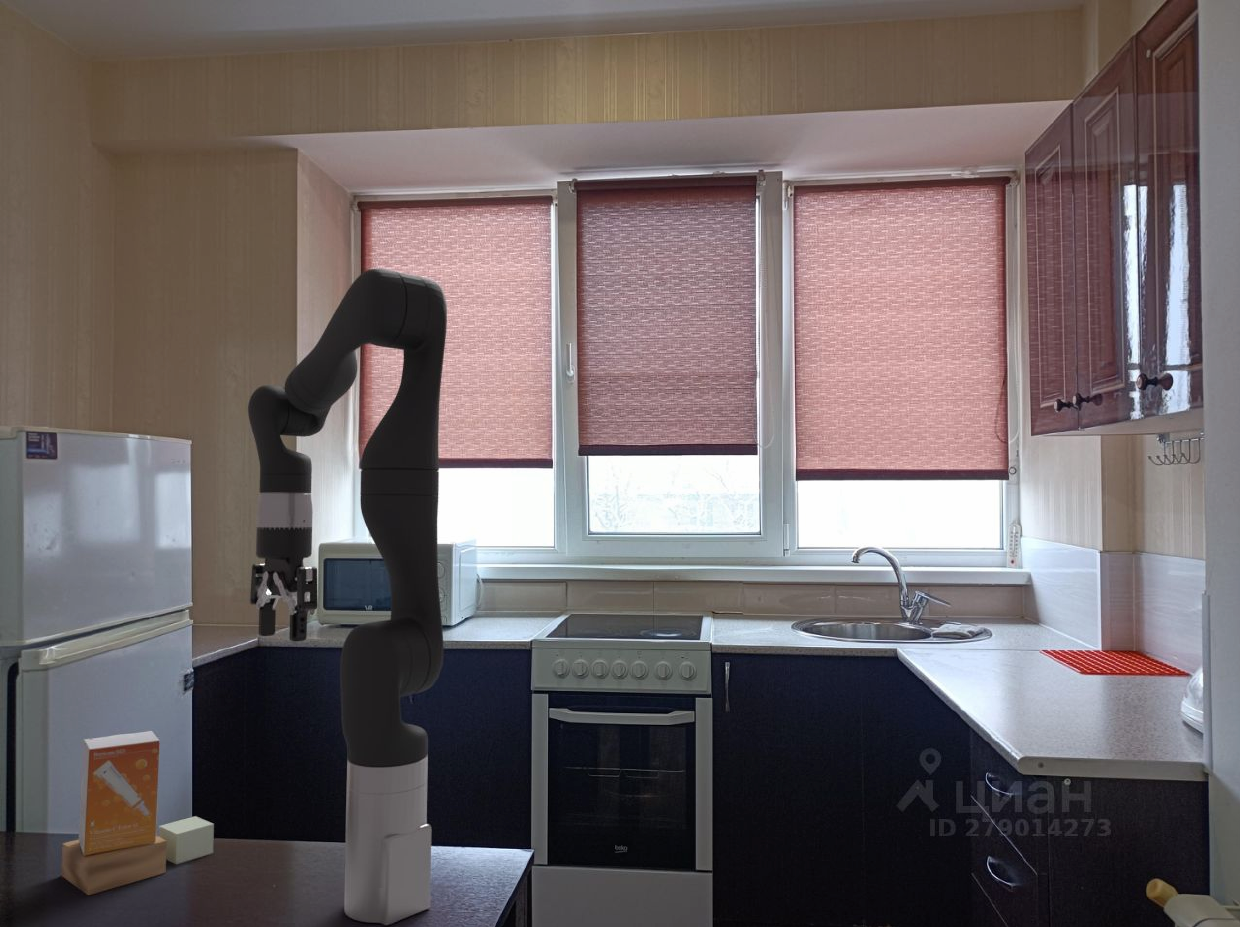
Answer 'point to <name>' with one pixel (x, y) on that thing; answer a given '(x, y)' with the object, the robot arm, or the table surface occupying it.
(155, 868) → the base brick
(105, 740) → the small box
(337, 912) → the table surface
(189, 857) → the brick
